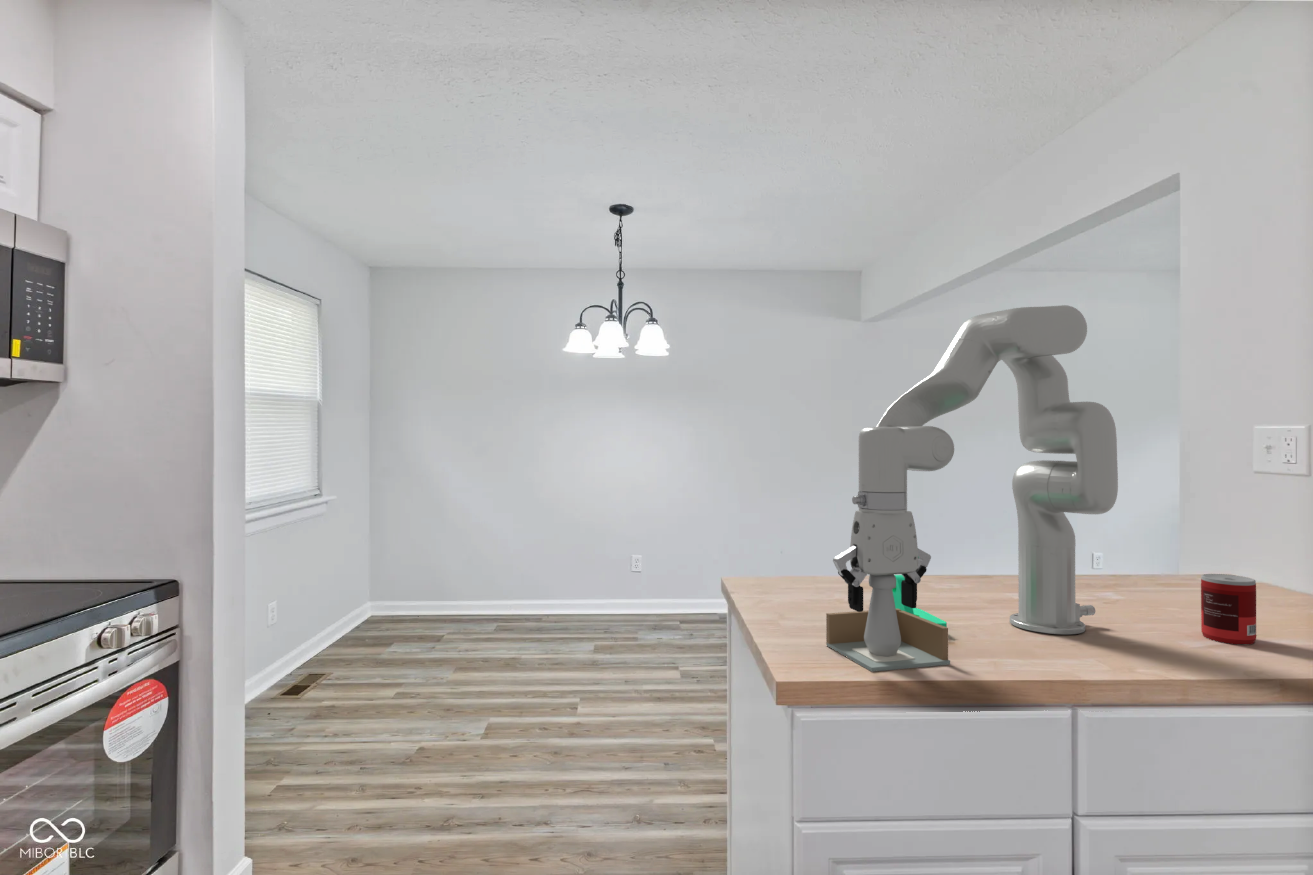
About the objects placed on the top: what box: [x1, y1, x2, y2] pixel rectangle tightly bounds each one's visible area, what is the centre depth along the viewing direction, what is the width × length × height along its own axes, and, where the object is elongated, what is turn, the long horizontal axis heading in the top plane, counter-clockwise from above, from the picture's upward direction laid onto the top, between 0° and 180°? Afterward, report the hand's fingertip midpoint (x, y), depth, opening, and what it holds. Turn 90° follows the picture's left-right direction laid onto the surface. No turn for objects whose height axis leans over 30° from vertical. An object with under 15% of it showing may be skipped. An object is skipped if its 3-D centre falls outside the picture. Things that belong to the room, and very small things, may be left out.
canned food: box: [1200, 573, 1257, 645], centre depth 125 cm, size 8×8×11 cm
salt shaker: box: [864, 574, 901, 657], centre depth 113 cm, size 6×6×13 cm
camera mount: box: [892, 574, 948, 628], centre depth 131 cm, size 12×8×10 cm, turn 5°
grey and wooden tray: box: [825, 609, 951, 672], centre depth 115 cm, size 14×14×6 cm
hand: (882, 608), depth 113 cm, fingers open, 9 cm apart
